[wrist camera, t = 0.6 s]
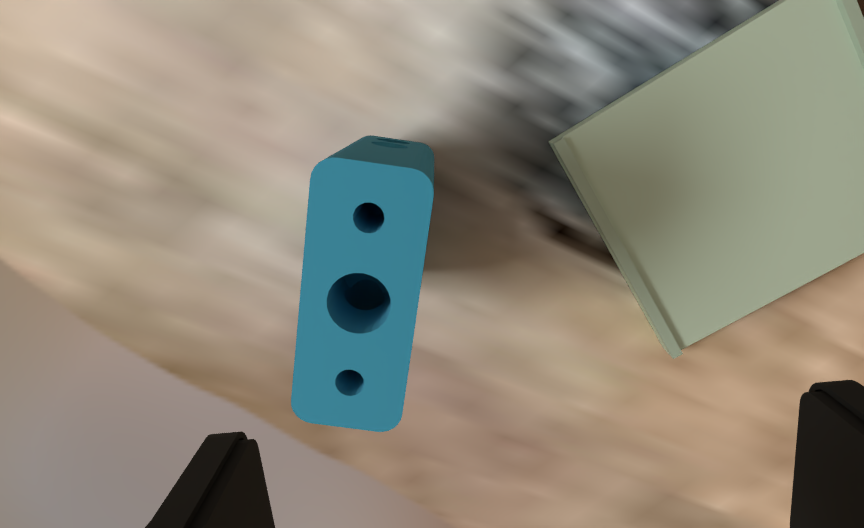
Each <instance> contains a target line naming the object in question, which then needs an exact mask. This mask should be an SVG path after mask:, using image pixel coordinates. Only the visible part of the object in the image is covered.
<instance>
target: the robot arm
mask: <svg viewBox="0 0 864 528" xmlns="http://www.w3.org/2000/svg"><path fill="white" fill-rule="evenodd" d="M145 528H275V525H274V520H273V515H272V511H271V506H270V501H269V496H268V491H267V487H266V482H265V477H264V472H263V467H262V462H261V457H260V453H259V448H258V444H257V442H256V440H254V439H249V440H248V439H247V437H246V435H245V433H243V432H232V433H220V434H211V435H208V437H206V439H205V440H204V442H203V443H202V445H201V446H200V448H199V450H198V451H197V452H196V454H195V455H194V457H193V458H192V460H191V461H190V463H189V465H188V466H187V467H186V469H185V470H184V472H183V474H182V475H181V476H180V478H179V479H178V481H177V483H176V484H175V485H174V487H173V488H172V490H171V491H170V493H169V495H168V496H167V497H166V499H165V500H164V502H163V503H162V505H161V506H160V508H159V509H158V511H157V512H156V514H155V515H154V517H153V519H152V520H151V521H150V522H149V524H148V525H147V526H146V527H145ZM790 528H864V386H862V385H861V384H859V383H858V382H856V381H853V380H843V381H832V382H820V383H815V384H813V385H812V386H811V387H810V389H809V392H805V393H804V394H803V395H802V396H801V399H800V407H799V419H798V431H797V443H796V455H795V467H794V480H793V492H792V504H791V516H790Z"/></svg>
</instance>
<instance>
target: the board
mask: <svg viewBox="0 0 864 528" xmlns="http://www.w3.org/2000/svg"><path fill="white" fill-rule="evenodd" d="M548 142H549V144H550V146H551V148H552V149H553V151H554V153H555V155H556V157H557V158H558V160H559V162H560V164H561V166H562V167H563V169H564V171H565V173H566V175H567V176H568V178H569V180H570V182H571V183H572V185H573V187H574V189H575V191H576V192H577V194H578V196H579V198H580V200H581V201H582V203H583V205H584V207H585V209H586V210H587V212H588V214H589V216H590V218H591V219H592V221H593V223H594V225H595V226H596V228H597V230H598V232H599V234H600V235H601V237H602V239H603V241H604V243H605V244H606V246H607V248H608V250H609V252H610V253H611V255H612V257H613V259H614V261H615V262H616V264H617V266H618V268H619V269H620V271H621V273H622V275H623V277H624V278H625V280H626V282H627V284H628V286H629V287H630V289H631V291H632V293H633V295H634V296H635V298H636V300H637V302H638V304H639V305H640V307H641V309H642V311H643V312H644V314H645V316H646V318H647V320H648V321H649V323H650V325H651V327H652V329H653V330H654V332H655V334H656V336H657V338H658V339H659V341H660V343H661V345H662V346H663V348H664V349H665V350H666V351H667V352H668V354H669V355H670V356H671V357H672V358H673V359H674V358H676V357H678V356H680V355H682V354H683V353H682V351H681V350H682V349H684V348H686V347H687V346H689V345H691V344H693V343H695V342H697V341H699V340H701V339H702V338H704V337H706V336H708V335H710V334H712V333H714V332H716V331H718V330H719V329H721V328H723V327H725V326H727V325H729V324H731V323H733V322H734V321H736V320H738V319H740V318H742V317H744V316H746V315H748V314H750V313H751V312H753V311H755V310H757V309H759V308H761V307H763V306H765V305H767V304H768V303H770V302H772V301H774V300H776V299H778V298H780V297H782V296H783V295H785V294H787V293H789V292H791V291H793V290H795V289H797V288H799V287H800V286H802V285H804V284H806V283H808V282H810V281H812V280H814V279H815V278H817V277H819V276H821V275H823V274H825V273H827V272H829V271H831V270H832V269H834V268H836V267H838V266H840V265H842V264H844V263H846V262H847V261H849V260H851V259H853V258H855V257H857V256H859V255H861V254H863V253H864V17H863V15H862V12H861V10H860V7H859V5H858V2H857V0H779V1H777V2H776V3H774V4H772V5H771V6H769V7H768V8H766V9H764V10H763V11H761V12H759V13H758V14H756V15H754V16H753V17H751V18H750V19H748V20H746V21H745V22H743V23H741V24H740V25H738V26H736V27H735V28H733V29H732V30H730V31H728V32H727V33H725V34H723V35H722V36H720V37H719V38H717V39H715V40H714V41H712V42H710V43H709V44H707V45H705V46H704V47H702V48H701V49H699V50H697V51H696V52H694V53H692V54H691V55H689V56H687V57H686V58H684V59H683V60H681V61H679V62H678V63H676V64H674V65H673V66H671V67H669V68H668V69H666V70H665V71H663V72H661V73H660V74H658V75H656V76H655V77H653V78H651V79H650V80H648V81H647V82H645V83H643V84H642V85H640V86H638V87H637V88H635V89H633V90H632V91H630V92H629V93H627V94H625V95H624V96H622V97H620V98H619V99H617V100H615V101H614V102H612V103H611V104H609V105H607V106H606V107H604V108H602V109H601V110H599V111H597V112H596V113H594V114H593V115H591V116H589V117H588V118H586V119H584V120H583V121H581V122H579V123H578V124H576V125H575V126H573V127H571V128H570V129H568V130H566V131H565V132H563V133H561V134H560V135H558V136H557V137H555V138H553V139H552V140H550V141H548Z"/></svg>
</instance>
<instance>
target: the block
mask: <svg viewBox="0 0 864 528" xmlns="http://www.w3.org/2000/svg"><path fill="white" fill-rule="evenodd" d="M433 197H434V153H433V151H432V149H431V148H430V147H429V146H427V145H426V144H423V143H419V142H412V141H406V140H399V139H392V138H385V137H378V136H365V137H363V138H361V139H359V140H358V141H356V142H354V143H352V144H350V145H349V146H347V147H345V148H343V149H342V150H340V151H338V152H336V153H335V154H333V155H331V156H329V157H328V158H326V159H324V160H322V161H321V162H319V163H318V164H317V165H316V166H315V167H314V169H313V171H312V173H311V178H310V188H309V199H308V211H307V223H306V234H305V246H304V257H303V269H302V281H301V292H300V304H299V315H298V327H297V339H296V350H295V362H294V373H293V385H292V397H291V406H292V409H293V411H294V413H295V414H296V415H297V416H298V417H299V418H300V419H301V420H303V421H305V422H309V423H314V424H322V425H330V426H337V427H345V428H353V429H361V430H368V431H376V432H384V431H389V430H391V429H393V428H394V427H395V426H396V425H398V423H399V422H400V420H401V417H402V412H403V405H404V398H405V391H406V384H407V377H408V370H409V363H410V356H411V350H412V343H413V336H414V329H415V322H416V315H417V308H418V301H419V294H420V287H421V280H422V273H423V266H424V259H425V253H426V246H427V239H428V232H429V225H430V218H431V211H432V204H433Z"/></svg>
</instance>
